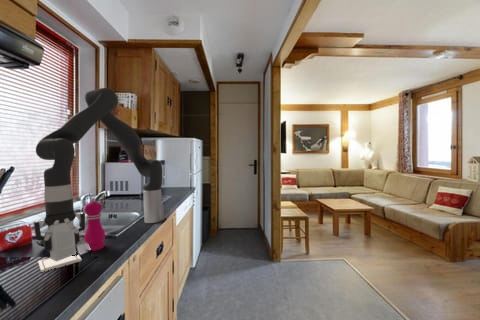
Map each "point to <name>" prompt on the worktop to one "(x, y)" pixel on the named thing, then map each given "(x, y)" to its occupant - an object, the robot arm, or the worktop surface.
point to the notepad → (57, 262)
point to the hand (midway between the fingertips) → (62, 247)
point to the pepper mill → (94, 226)
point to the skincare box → (62, 241)
